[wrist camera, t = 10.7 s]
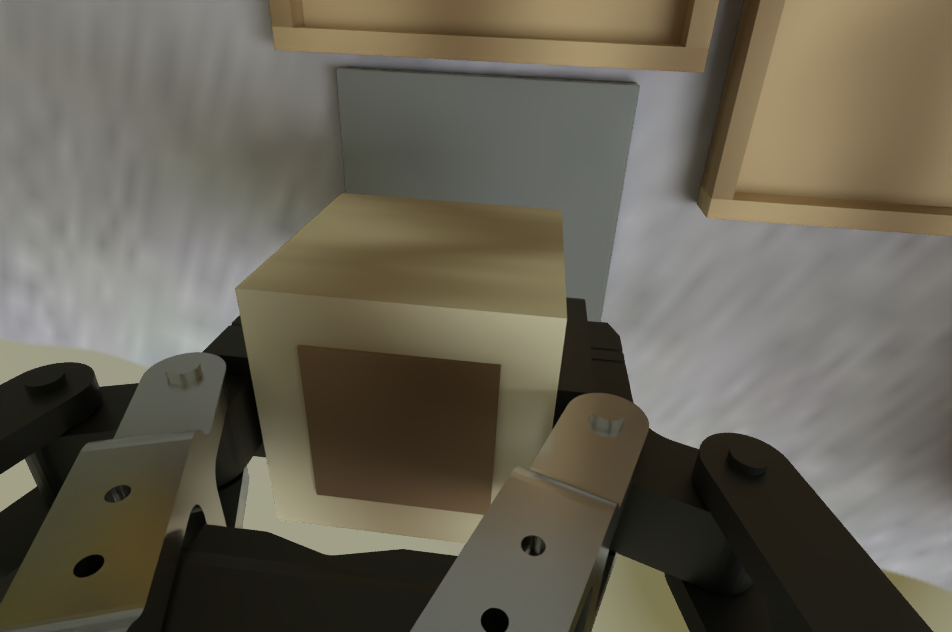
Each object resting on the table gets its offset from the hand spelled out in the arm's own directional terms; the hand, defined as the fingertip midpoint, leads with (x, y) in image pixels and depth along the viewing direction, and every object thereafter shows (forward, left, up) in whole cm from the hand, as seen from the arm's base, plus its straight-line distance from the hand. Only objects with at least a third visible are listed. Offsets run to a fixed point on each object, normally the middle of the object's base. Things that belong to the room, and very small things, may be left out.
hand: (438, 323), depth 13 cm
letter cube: (0, 0, -1) cm, 1 cm away
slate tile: (0, 0, -7) cm, 7 cm away
